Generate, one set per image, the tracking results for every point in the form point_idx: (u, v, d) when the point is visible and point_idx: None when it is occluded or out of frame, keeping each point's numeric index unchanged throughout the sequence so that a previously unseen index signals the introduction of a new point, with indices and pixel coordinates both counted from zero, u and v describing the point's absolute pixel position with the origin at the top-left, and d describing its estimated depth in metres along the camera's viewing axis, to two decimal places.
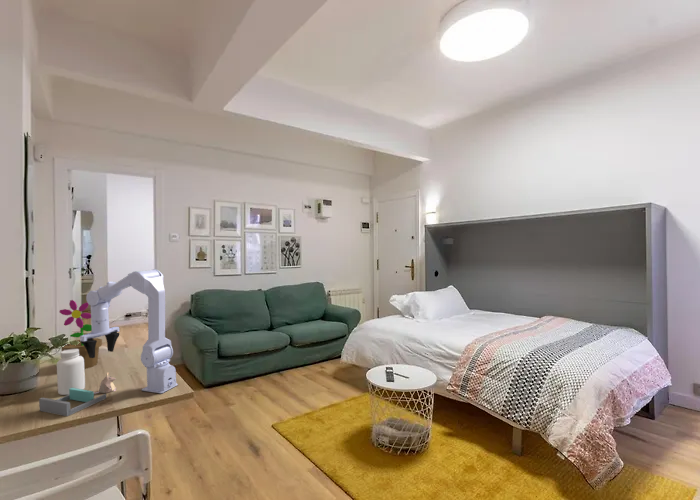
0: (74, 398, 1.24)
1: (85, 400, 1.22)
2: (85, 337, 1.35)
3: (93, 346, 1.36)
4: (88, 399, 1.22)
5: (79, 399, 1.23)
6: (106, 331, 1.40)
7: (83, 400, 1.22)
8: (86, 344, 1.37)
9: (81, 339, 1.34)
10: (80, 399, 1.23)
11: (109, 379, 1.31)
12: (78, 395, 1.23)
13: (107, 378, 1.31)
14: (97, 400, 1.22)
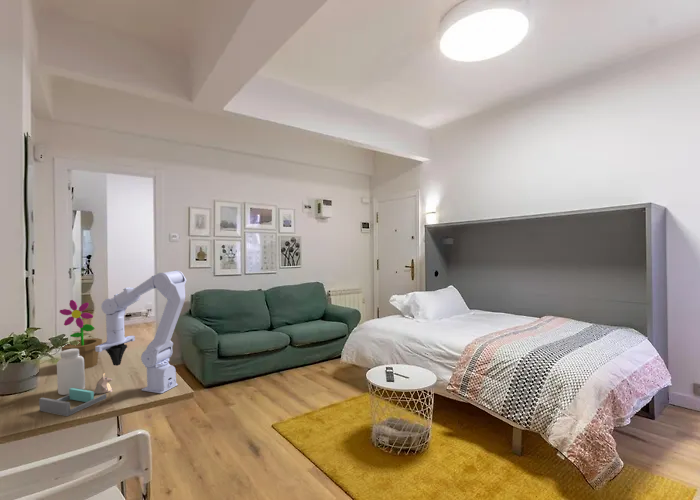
0: (74, 398, 1.24)
1: (85, 400, 1.22)
2: (100, 347, 1.29)
3: (117, 353, 1.34)
4: (88, 399, 1.22)
5: (79, 399, 1.23)
6: (122, 341, 1.35)
7: (83, 400, 1.22)
8: (110, 351, 1.35)
9: (96, 349, 1.29)
10: (80, 399, 1.23)
11: (105, 380, 1.30)
12: (78, 395, 1.23)
13: (103, 379, 1.30)
14: (97, 400, 1.22)
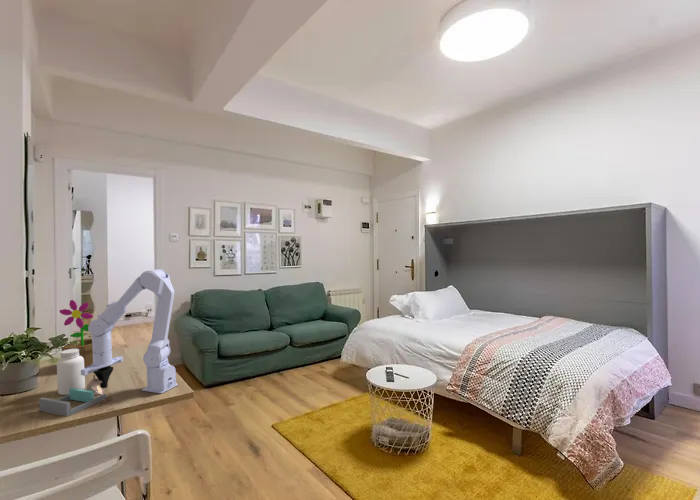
0: (74, 398, 1.24)
1: (85, 400, 1.22)
2: (86, 371, 1.24)
3: (105, 376, 1.30)
4: (88, 399, 1.22)
5: (79, 399, 1.23)
6: (109, 363, 1.30)
7: (83, 400, 1.22)
8: (98, 373, 1.30)
9: (82, 373, 1.24)
10: (80, 399, 1.23)
11: (95, 382, 1.28)
12: (78, 395, 1.23)
13: (93, 381, 1.28)
14: (97, 400, 1.22)
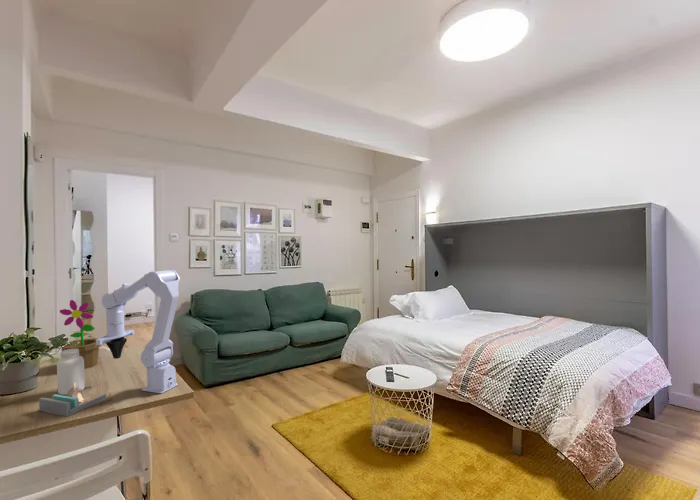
0: None
1: None
2: (101, 340, 1.32)
3: (117, 347, 1.37)
4: (72, 406, 1.17)
5: None
6: (122, 334, 1.38)
7: None
8: (110, 345, 1.38)
9: (97, 343, 1.32)
10: None
11: (76, 390, 1.22)
12: None
13: (74, 389, 1.22)
14: (97, 400, 1.22)
